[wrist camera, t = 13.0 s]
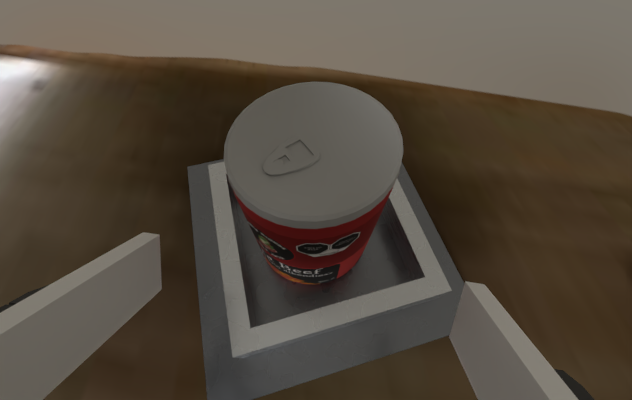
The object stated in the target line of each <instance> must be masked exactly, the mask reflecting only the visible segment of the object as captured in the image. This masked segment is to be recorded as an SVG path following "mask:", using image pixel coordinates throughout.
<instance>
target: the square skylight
mask: <svg viewBox="0 0 632 400" xmlns="http://www.w3.org/2000/svg"><path fill="white" fill-rule="evenodd" d="M187 168H188V180H189V191H190V203H191V214H192V226H193V238H194V249H195V261H196V272H197V284H198V296H199V307H200V319H201V330H202V342H203V354H204V365H205V377H206V388H207V400H252V399H255V398H258V397H261V396H264V395H267V394H271V393H274V392H277V391H280V390H283V389H286V388H289V387H292V386H295V385H298V384H301V383H304V382H307V381H310V380H313V379H316V378H320V377H323V376H326V375H329V374H332V373H335V372H338V371H341V370H344V369H347V368H350V367H353V366H356V365H359V364H362V363H365V362H369V361H372V360H375V359H378V358H381V357H384V356H387V355H390V354H393V353H396V352H399V351H402V350H405V349H408V348H411V347H414V346H418V345H421V344H424V343H427V342H430V341H433V340H436V339H439V338H442V337H445V336H448V335H450V332H451V329H452V325H453V322H454V319H455V315H456V312H457V308H458V305H459V301H460V298H461V294H462V291H463V288H464V282H463V280H462V278H461V276H460V274H459V272H458V271H457V269H456V267H455V265H454V263H453V261H452V259H451V257H450V255H449V253H448V251H447V249H446V247H445V245H444V243H443V241H442V239H441V237H440V235H439V234H438V232H437V230H436V228H435V226H434V224H433V222H432V220H431V218H430V216H429V214H428V212H427V210H426V208H425V206H424V204H423V202H422V200H421V198H420V197H419V195H418V193H417V191H416V189H415V187H414V185H413V183H412V181H411V179H410V177H409V175H408V173H407V171H406V169H405V167H404V165H403V163H402V162H401V166H400V170H399V174H398V177H397V179H396V181H395V183H394V187H393V189H392V191H391V193H390V196H389V198H388V200H387V202H386V204H385V206H384V209H383V211H382V213H381V215H380V217H379V219H378V221H377V223H376V226H375V228H374V230H373V232H372V234H371V236H370V238H369V241H368V243H367V245H366V247H365V249H364V251H363V253H362V255H361V257H360V259H359V260H358V261H357V263H356V264H355V266H353V267H352V268H351V269H350V270H349V271H348V272H347V273H345V274H344V275H342V276H341V277H339V278H337V279H335V280H332V281H329V282H327V283H321V284H301V283H297V282H293V281H291V280H288V279H286V278H284V277H282V276H281V275H280V274H278V273H277V272H276V271H274V270H273V268H272V267H271V266H270V265H269V264H268V262H267V261H266V259H265V257H264V255H263V253H262V251H261V249H260V246H259V244H258V242H257V240H256V238H255V236H254V234H253V232H252V230H251V228H250V226H249V224H248V222H247V220H246V218H245V215H244V213H243V211H242V209H241V207H240V205H239V203H238V201H237V199H236V197H235V195H234V192H233V189H232V187H231V185H230V183H229V180H228V175H227V171H226V167H225V163H224V159H221V160H217V161H212V162H207V163H203V164H198V165H193V166H189V167H187Z"/></svg>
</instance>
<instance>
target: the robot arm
mask: <svg viewBox="0 0 632 400" xmlns="http://www.w3.org/2000/svg"><path fill="white" fill-rule="evenodd" d="M160 290H162V284H161V258H160V235H158V234H151V233H144V232H143V233H141V234H139V235H137V236H136V237H134V238H132V239H130V240H129V241H127V242H125V243H123V244H121V245H120V246H118V247H116V248H114V249H113V250H111V251H109V252H107V253H105V254H104V255H102V256H100V257H98V258H97V259H95V260H93V261H91V262H89V263H88V264H86V265H84V266H82V267H81V268H79V269H77V270H75V271H73V272H72V273H70V274H68V275H66V276H65V277H63V278H61V279H59V280H58V281H56V282H54V283H52V284H50V285H47V286H44V287H42V288H39V289H36V290H33V291H31V292H28V293H26V294H24V295H22V296H21V297H19V298H17V299H15V300H13V301H11V302H10V303H9V305H4V306H2V307H1V308H0V400H43V399H44V398H45V397H46V396H47V395H48V394H49V393H50V392H51V391H52V390H54V389H55V388H56V387H57V386H58V385H59V384H60V383H61V382H62V381H63V380H64V379H65V378H67V377H68V376H69V375H70V374H71V373H72V372H73V371H74V370H75V369H76V368H77V367H78V366H79V365H81V364H82V363H83V362H84V361H85V360H86V359H87V358H88V357H89V356H90V355H91V354H92V353H94V352H95V351H96V350H97V349H98V348H99V347H100V346H101V345H102V344H103V343H104V342H105V341H106V340H108V339H109V338H110V337H111V336H112V335H113V334H114V333H115V332H116V331H117V330H118V329H119V328H121V327H122V326H123V325H124V324H125V323H126V322H127V321H128V320H129V319H130V318H131V317H132V316H133V315H135V314H136V313H137V312H138V311H139V310H140V309H141V308H142V307H143V306H144V305H145V304H146V303H148V302H149V301H150V300H151V299H152V298H153V297H154V296H155V295H156V294H157V293H158V292H159V291H160ZM449 338H450V340H451V342H452V344H453V346H454V349H455V351H456V353H457V355H458V357H459V360H460V362H461V364H462V366H463V368H464V370H465V373H466V375H467V377H468V379H469V381H470V383H471V386H472V388H473V390H474V392H475V394H476V396H477V399H478V400H594V399H593V398H592V396H591V395H590V394H589V393H588V392H587V391H586V389H585V388H584V387H583V386H582V385H580V384H579V383H578V382H577V381H575V380H574V379H573V378H572V377H570V376H569V375H568V374H567V373H565V372H564V371H563V370H557V369H553V368H552V367H551V365H550V364H549V363H548V362H547V360H546V359H545V358H544V357H543V356H542V354H541V353H540V352H539V351H538V349H537V348H536V347H535V346H534V345H533V343H532V342H531V341H530V340H529V338H528V337H527V336H526V335H525V333H524V332H523V331H522V330H521V329H520V327H519V326H518V325H517V324H516V322H515V321H514V320H513V319H512V318H511V316H510V315H509V314H508V313H507V311H506V310H505V309H504V308H503V306H502V305H501V304H500V303H499V302H498V300H497V299H496V298H495V297H494V295H493V294H492V293H491V292H490V291H489V289H488V288H487V287H486V286H485V284H479V283H472V282H466V281H465V284H464V288H463V291H462V294H461V298H460V301H459V305H458V308H457V312H456V315H455V319H454V322H453V325H452V329H451V332H450V336H449Z"/></svg>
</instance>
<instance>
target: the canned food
mask: <svg viewBox="0 0 632 400" xmlns="http://www.w3.org/2000/svg"><path fill="white" fill-rule="evenodd" d="M402 156H403V140H402V135H401V132H400V129H399V126H398V124H397V123H396V121H395V119H394V118H393V116H392V114H391V113H390V112H389V111H388V110H387V109H386V108H385V107H384V106H383V105H382V104H381V103H380V102H379V101H377V100H376V99H374V98H373V97H372V96H370V95H368V94H366V93H364V92H362V91H360V90H358V89H355V88H352V87H349V86H346V85H343V84H337V83H331V82H305V83H297V84H293V85H288V86H284V87H281V88H279V89H276V90H274V91H271V92H269V93H267V94H265V95H263V96H262V97H260V98H258V99H256V100H255V101H254V102H253V103H251V104H250V105H249V106H248V107H246V108H245V109H244V110H243V111H242V112H241V114H240V115H239V116H238V117H237V118H236V119H235V121H234V123H233V125H232V126H231V128H230V130H229V132H228V135H227V138H226V142H225V145H224V163H225V167H226V171H227V175H228V180H229V183H230V185H231V187H232V189H233V192H234V195H235V197H236V199H237V201H238V203H239V205H240V207H241V209H242V211H243V213H244V215H245V218H246V220H247V222H248V224H249V226H250V228H251V230H252V232H253V234H254V236H255V238H256V240H257V242H258V244H259V246H260V249H261V251H262V253H263V255H264V257H265V259H266V261H267V262H268V264H269V265H270V266H271V267H272V268H273V270H274V271H276V272H277V273H278V274H280V275H281V276H282V277H284V278H286V279H288V280H291V281H293V282H297V283H301V284H321V283H327V282H329V281H332V280H335V279H337V278H339V277H341V276H342V275H344V274H345V273H347V272H348V271H349V270H350V269H351V268H352V267H353V266H355V264H356V263H357V261H358V260H359V259H360V257H361V255H362V253H363V251H364V249H365V247H366V245H367V243H368V241H369V238H370V236H371V234H372V232H373V230H374V228H375V226H376V223H377V221H378V219H379V217H380V215H381V213H382V211H383V209H384V206H385V204H386V202H387V200H388V198H389V196H390V193H391V191H392V189H393V187H394V183H395V181H396V179H397V177H398V174H399V170H400V166H401V162H402Z"/></svg>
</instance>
